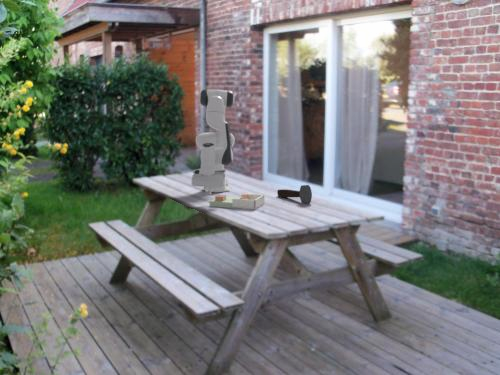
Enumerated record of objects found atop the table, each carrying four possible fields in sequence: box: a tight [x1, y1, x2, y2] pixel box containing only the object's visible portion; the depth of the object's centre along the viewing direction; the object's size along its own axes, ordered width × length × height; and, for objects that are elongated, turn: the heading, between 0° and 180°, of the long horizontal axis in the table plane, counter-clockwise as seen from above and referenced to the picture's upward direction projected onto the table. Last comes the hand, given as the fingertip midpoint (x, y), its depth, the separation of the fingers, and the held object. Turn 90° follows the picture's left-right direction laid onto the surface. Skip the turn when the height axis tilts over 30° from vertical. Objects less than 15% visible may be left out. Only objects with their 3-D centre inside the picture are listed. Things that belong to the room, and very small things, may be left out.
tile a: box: [241, 193, 250, 200], centre depth 348 cm, size 5×5×2 cm
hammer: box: [277, 184, 313, 205], centre depth 362 cm, size 5×11×30 cm
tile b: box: [214, 194, 227, 201], centre depth 344 cm, size 5×5×2 cm
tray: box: [231, 193, 265, 210], centre depth 344 cm, size 18×14×5 cm
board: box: [209, 195, 242, 209], centre depth 348 cm, size 18×14×3 cm
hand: (208, 194), depth 346 cm, fingers closed
